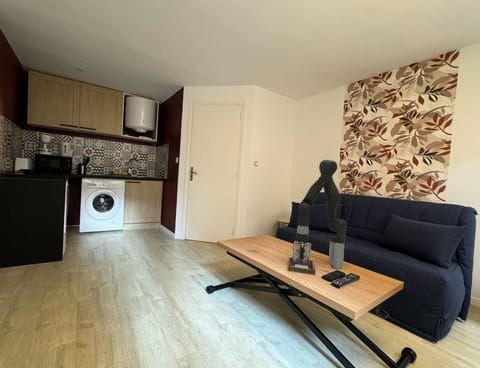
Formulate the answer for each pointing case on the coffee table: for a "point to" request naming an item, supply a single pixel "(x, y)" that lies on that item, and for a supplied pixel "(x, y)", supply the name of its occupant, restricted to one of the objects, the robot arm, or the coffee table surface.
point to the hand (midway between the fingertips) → (301, 257)
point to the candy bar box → (297, 253)
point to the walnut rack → (301, 270)
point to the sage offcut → (301, 266)
